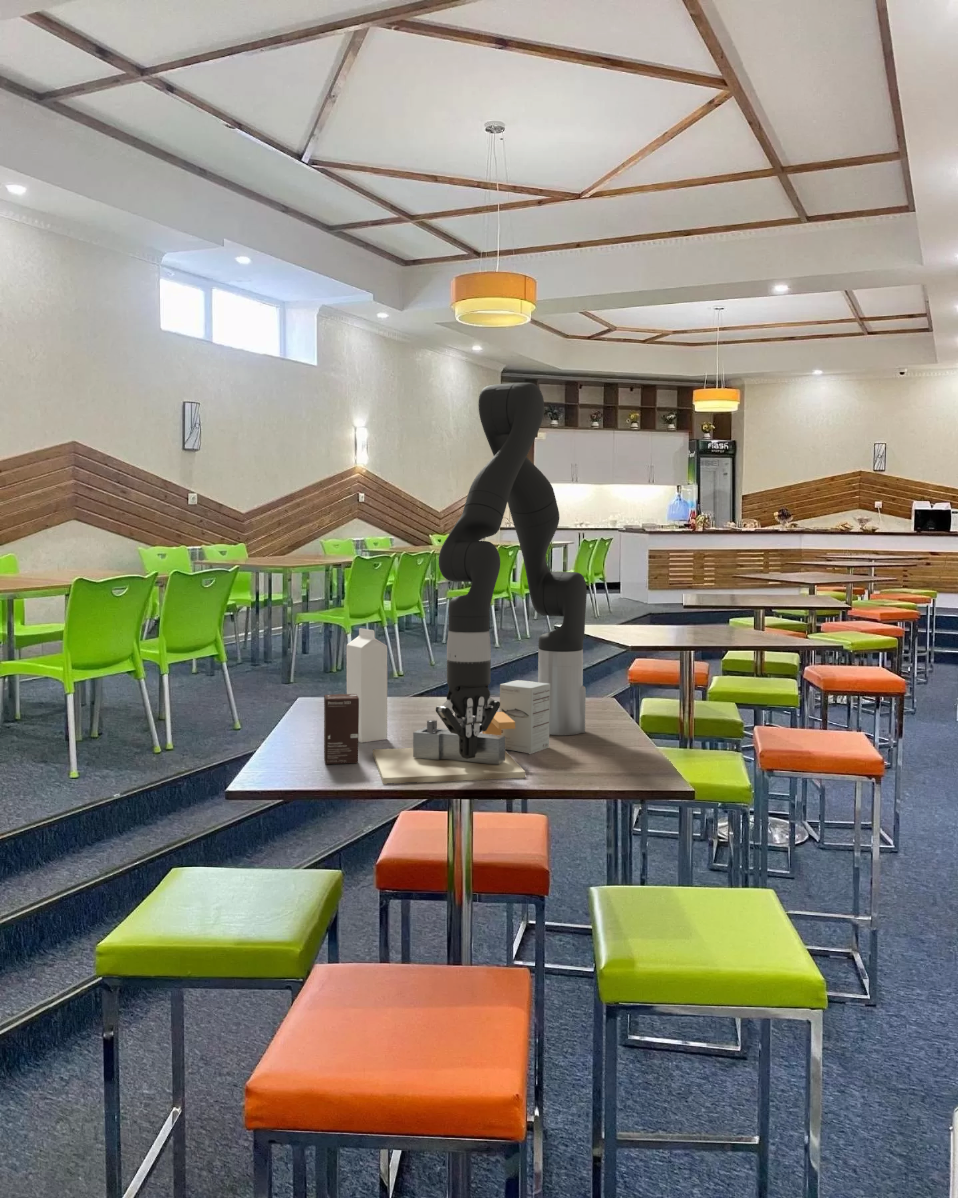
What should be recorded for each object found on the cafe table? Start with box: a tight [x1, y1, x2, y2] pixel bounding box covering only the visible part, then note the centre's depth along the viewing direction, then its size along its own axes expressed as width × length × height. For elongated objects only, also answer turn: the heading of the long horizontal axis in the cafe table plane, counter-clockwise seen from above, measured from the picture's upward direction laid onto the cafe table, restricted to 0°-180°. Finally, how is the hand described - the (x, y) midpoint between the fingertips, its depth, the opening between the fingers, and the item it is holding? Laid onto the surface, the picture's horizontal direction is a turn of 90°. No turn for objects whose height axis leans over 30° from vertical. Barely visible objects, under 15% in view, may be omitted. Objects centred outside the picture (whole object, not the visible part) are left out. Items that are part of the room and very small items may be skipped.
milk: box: [346, 627, 388, 744], centre depth 190 cm, size 6×6×22 cm
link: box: [412, 726, 506, 765], centre depth 169 cm, size 16×5×4 cm, turn 67°
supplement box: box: [498, 679, 550, 755], centre depth 183 cm, size 7×7×13 cm
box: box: [323, 693, 359, 765], centre depth 171 cm, size 6×4×12 cm
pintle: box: [422, 719, 438, 760], centre depth 171 cm, size 4×4×8 cm
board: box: [372, 747, 526, 785], centre depth 169 cm, size 24×21×1 cm
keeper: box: [481, 711, 515, 735], centre depth 175 cm, size 4×10×8 cm, turn 11°
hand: (468, 757), depth 164 cm, fingers closed
